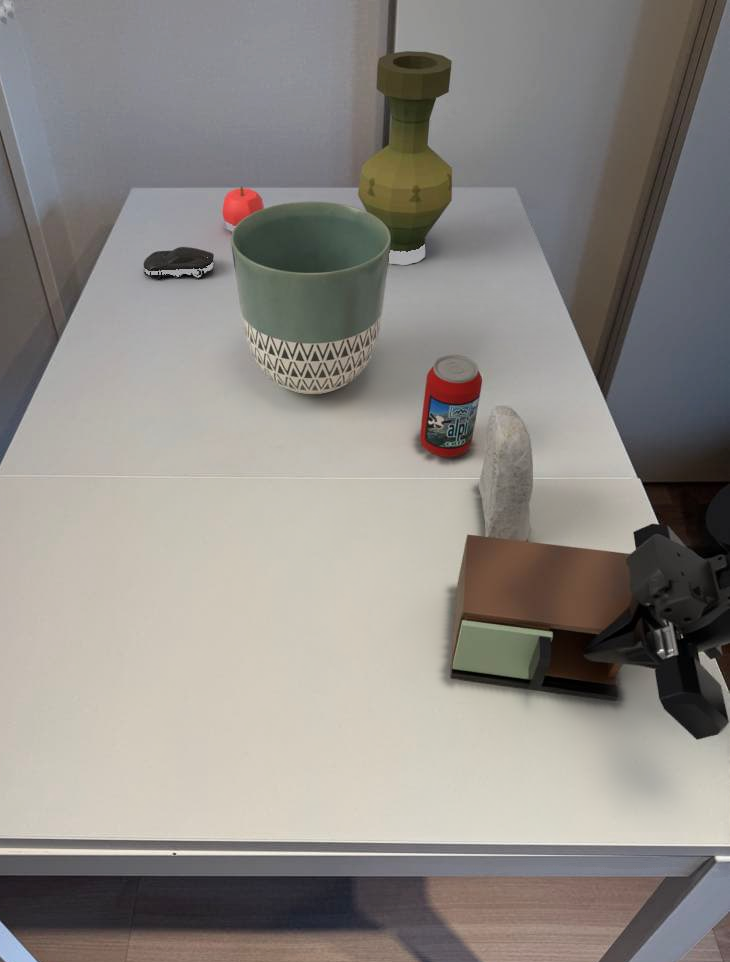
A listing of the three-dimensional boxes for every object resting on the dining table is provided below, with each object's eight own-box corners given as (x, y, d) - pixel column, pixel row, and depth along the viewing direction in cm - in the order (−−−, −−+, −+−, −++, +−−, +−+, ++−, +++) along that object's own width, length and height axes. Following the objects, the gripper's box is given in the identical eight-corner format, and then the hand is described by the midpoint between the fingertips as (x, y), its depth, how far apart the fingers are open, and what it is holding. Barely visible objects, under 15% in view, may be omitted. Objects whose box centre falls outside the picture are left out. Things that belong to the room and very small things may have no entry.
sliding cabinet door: (536, 675, 75) (552, 631, 70) (537, 701, 73) (554, 658, 68) (452, 664, 76) (462, 619, 71) (451, 689, 74) (460, 646, 69)
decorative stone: (467, 484, 96) (486, 384, 85) (515, 485, 96) (540, 384, 85) (479, 549, 88) (501, 448, 77) (531, 549, 88) (560, 448, 77)
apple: (235, 218, 147) (231, 175, 141) (273, 225, 145) (271, 182, 139) (215, 235, 142) (211, 192, 136) (254, 243, 140) (251, 199, 134)
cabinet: (606, 609, 82) (630, 553, 76) (616, 701, 74) (644, 647, 68) (455, 590, 84) (467, 534, 77) (450, 678, 76) (462, 623, 70)
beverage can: (429, 465, 98) (440, 387, 89) (411, 433, 103) (419, 355, 94) (478, 456, 99) (493, 378, 91) (458, 424, 104) (471, 347, 95)
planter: (225, 410, 106) (208, 262, 90) (266, 334, 119) (258, 194, 104) (366, 431, 103) (373, 282, 87) (392, 351, 116) (403, 209, 100)
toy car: (147, 264, 134) (143, 243, 132) (216, 263, 135) (213, 242, 132) (143, 280, 130) (139, 259, 128) (214, 279, 131) (211, 258, 128)
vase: (336, 248, 139) (339, 58, 117) (403, 224, 145) (417, 40, 123) (396, 284, 130) (411, 86, 108) (465, 257, 136) (491, 65, 114)
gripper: (695, 450, 63) (531, 529, 72) (743, 634, 50) (536, 701, 59) (757, 529, 67) (595, 593, 77) (814, 714, 55) (613, 764, 64)
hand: (585, 654), depth 69 cm, fingers closed
